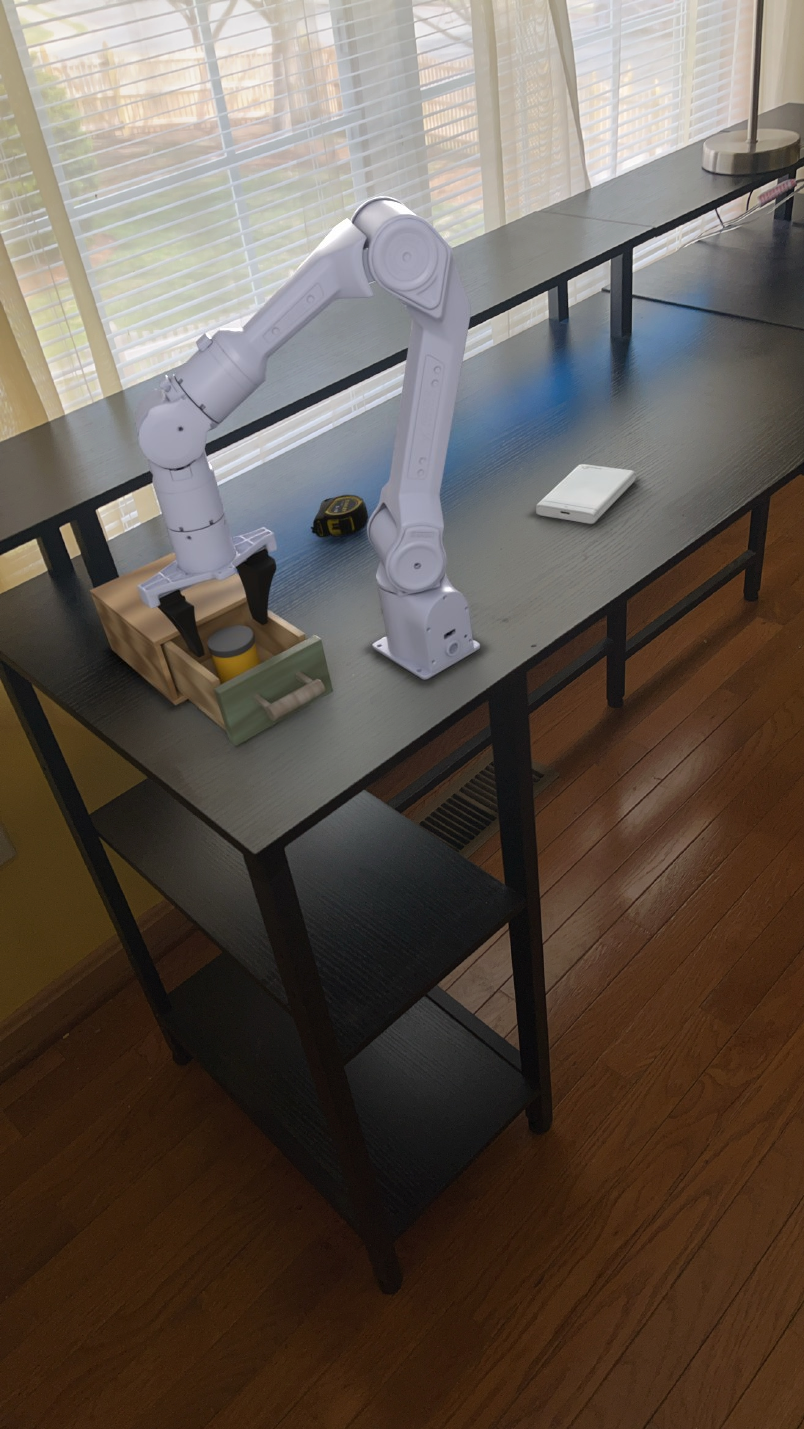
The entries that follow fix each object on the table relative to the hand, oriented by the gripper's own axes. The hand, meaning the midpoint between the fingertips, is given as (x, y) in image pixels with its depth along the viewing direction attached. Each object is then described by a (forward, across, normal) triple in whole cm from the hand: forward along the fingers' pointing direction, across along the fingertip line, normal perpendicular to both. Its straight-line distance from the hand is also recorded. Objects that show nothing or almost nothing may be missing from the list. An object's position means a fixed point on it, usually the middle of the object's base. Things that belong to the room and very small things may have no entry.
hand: (229, 636), depth 106 cm
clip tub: (+5, 0, 0) cm, 5 cm away
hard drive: (+7, +54, +2) cm, 55 cm away
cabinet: (+7, 0, +12) cm, 14 cm away
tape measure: (+7, +28, +22) cm, 36 cm away
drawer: (+6, 0, -3) cm, 7 cm away
